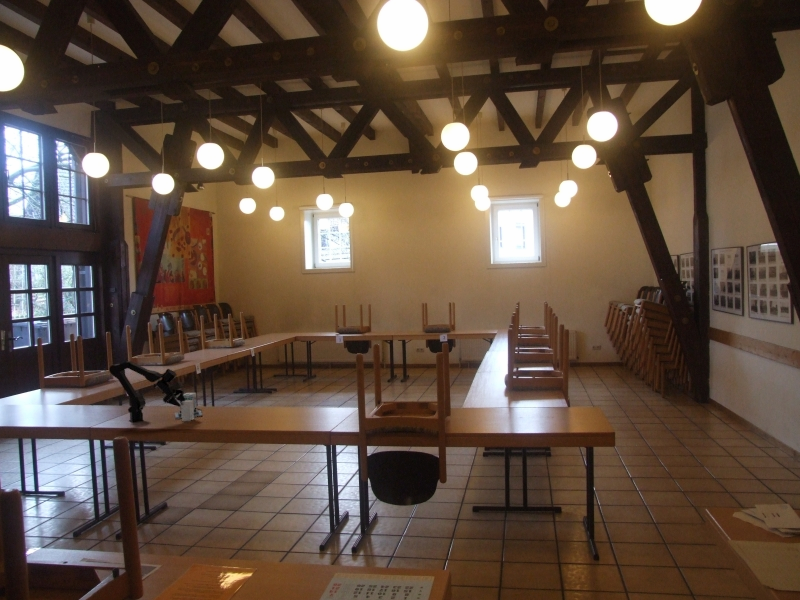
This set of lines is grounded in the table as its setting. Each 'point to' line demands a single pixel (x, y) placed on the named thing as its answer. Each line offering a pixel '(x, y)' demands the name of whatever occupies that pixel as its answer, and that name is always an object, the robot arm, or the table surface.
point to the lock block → (187, 410)
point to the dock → (196, 413)
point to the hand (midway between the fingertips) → (183, 404)
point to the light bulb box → (190, 397)
